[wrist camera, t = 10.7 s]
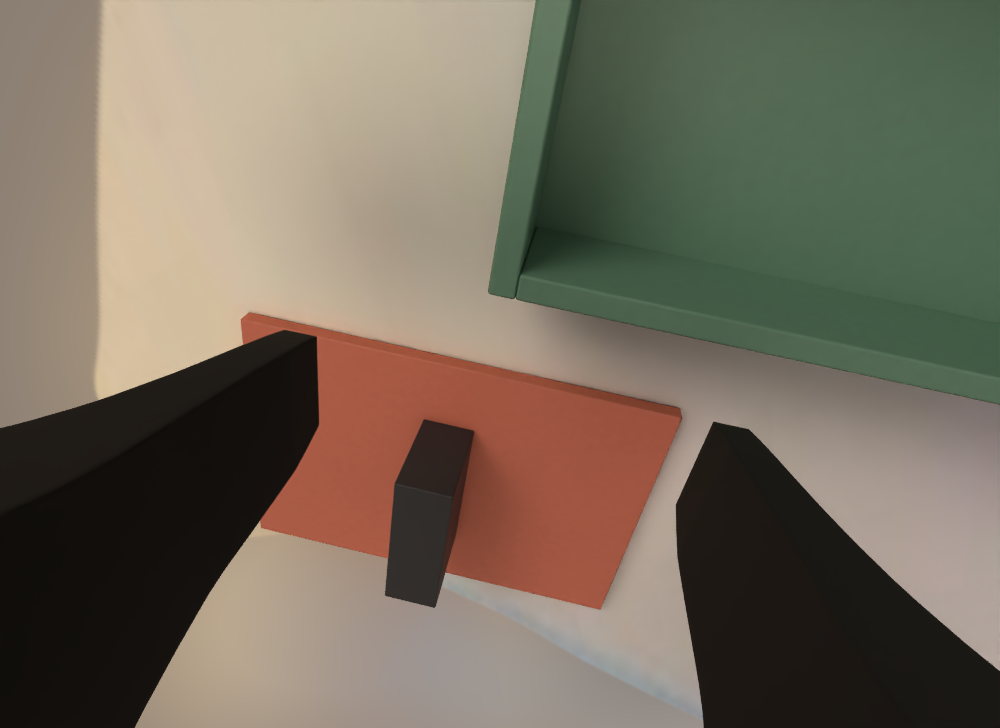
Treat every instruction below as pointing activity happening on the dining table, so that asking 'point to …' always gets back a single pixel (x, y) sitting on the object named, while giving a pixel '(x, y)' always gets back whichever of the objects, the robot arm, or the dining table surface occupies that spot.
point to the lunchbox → (767, 179)
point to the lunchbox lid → (469, 470)
